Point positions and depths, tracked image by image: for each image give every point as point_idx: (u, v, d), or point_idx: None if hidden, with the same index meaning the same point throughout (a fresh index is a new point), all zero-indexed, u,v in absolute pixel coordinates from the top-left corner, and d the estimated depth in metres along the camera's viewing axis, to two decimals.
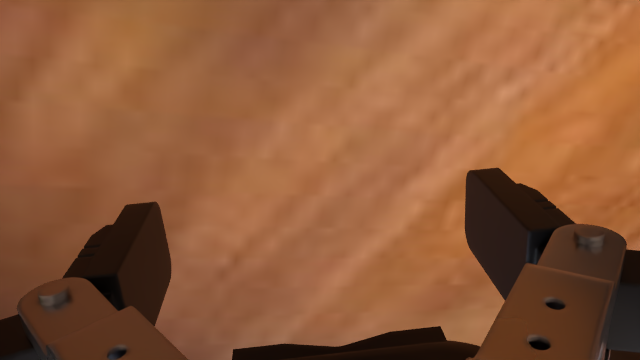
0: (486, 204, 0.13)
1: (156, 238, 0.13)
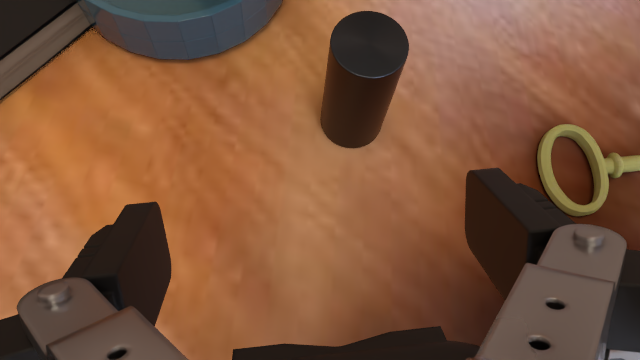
0: (486, 204, 0.13)
1: (156, 238, 0.13)
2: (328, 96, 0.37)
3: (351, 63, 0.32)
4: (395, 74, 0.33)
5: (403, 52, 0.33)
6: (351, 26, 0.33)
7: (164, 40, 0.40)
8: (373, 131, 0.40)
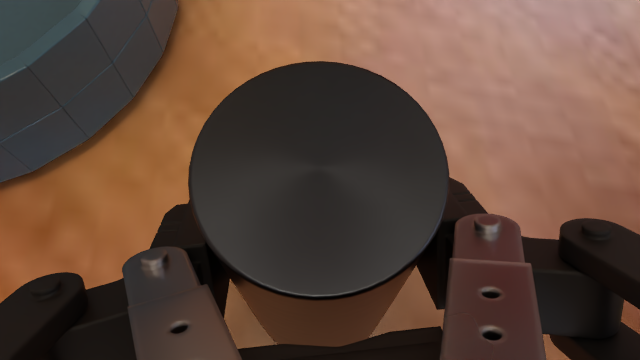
0: None
1: None
2: None
3: (259, 250, 0.09)
4: (414, 263, 0.10)
5: (431, 187, 0.10)
6: (257, 117, 0.10)
7: None
8: (369, 332, 0.17)
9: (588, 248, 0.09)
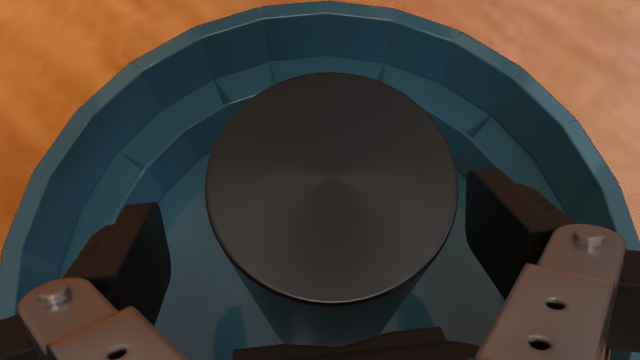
0: (486, 204, 0.13)
1: (156, 238, 0.13)
2: None
3: (274, 257, 0.10)
4: (425, 270, 0.10)
5: (440, 196, 0.10)
6: (271, 127, 0.11)
7: None
8: (378, 333, 0.17)
9: None
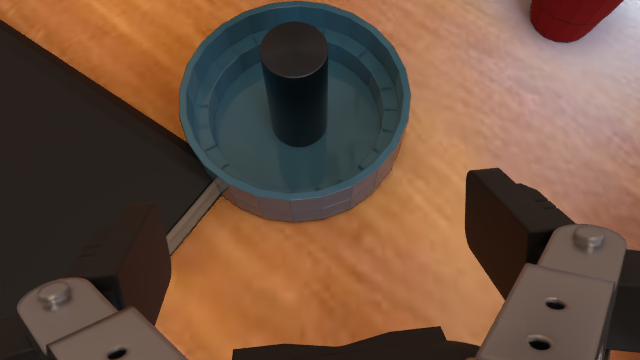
0: (486, 204, 0.13)
1: (156, 238, 0.13)
2: (269, 100, 0.42)
3: (278, 67, 0.37)
4: (318, 72, 0.37)
5: (323, 53, 0.37)
6: (277, 35, 0.38)
7: (303, 210, 0.41)
8: (317, 129, 0.44)
9: None
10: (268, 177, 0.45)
